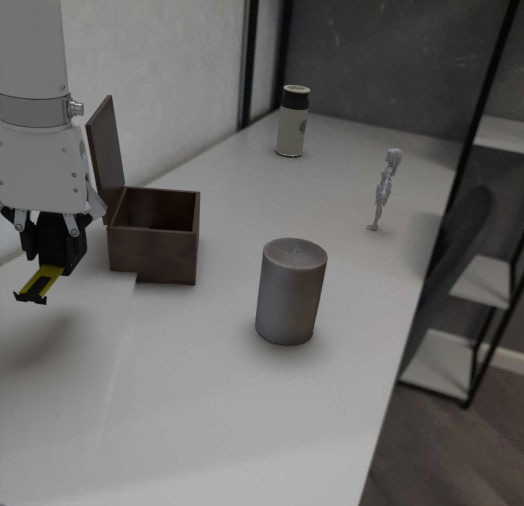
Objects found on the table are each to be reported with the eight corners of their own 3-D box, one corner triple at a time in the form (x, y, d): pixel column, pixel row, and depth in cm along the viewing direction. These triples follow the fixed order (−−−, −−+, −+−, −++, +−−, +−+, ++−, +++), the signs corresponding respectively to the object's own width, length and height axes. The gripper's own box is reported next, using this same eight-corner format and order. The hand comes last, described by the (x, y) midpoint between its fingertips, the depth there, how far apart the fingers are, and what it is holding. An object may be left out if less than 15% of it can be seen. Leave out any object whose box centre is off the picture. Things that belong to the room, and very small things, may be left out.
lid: (112, 94, 89) (107, 94, 89) (90, 125, 74) (84, 125, 74) (125, 183, 99) (121, 183, 99) (108, 225, 84) (103, 225, 84)
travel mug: (270, 151, 157) (277, 85, 146) (288, 147, 161) (296, 83, 150) (288, 159, 152) (297, 92, 141) (307, 155, 157) (316, 90, 146)
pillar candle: (317, 318, 88) (333, 236, 78) (308, 352, 80) (325, 265, 71) (261, 306, 89) (271, 224, 80) (247, 338, 81) (256, 251, 72)
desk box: (199, 238, 106) (200, 191, 100) (195, 285, 92) (196, 234, 86) (126, 233, 105) (123, 185, 99) (110, 280, 90) (106, 228, 84)
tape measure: (60, 247, 75) (53, 194, 70) (90, 252, 75) (85, 199, 70) (14, 301, 64) (2, 242, 59) (49, 306, 64) (40, 247, 59)
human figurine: (370, 217, 124) (389, 139, 113) (386, 220, 123) (406, 143, 112) (362, 237, 115) (382, 154, 104) (379, 241, 114) (401, 158, 103)
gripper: (118, 109, 61) (124, 249, 72) (-35, 90, 58) (-5, 238, 70) (107, 127, 55) (115, 277, 66) (-64, 108, 53) (-26, 266, 64)
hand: (53, 256), depth 68 cm, fingers closed on tape measure, 4 cm apart
